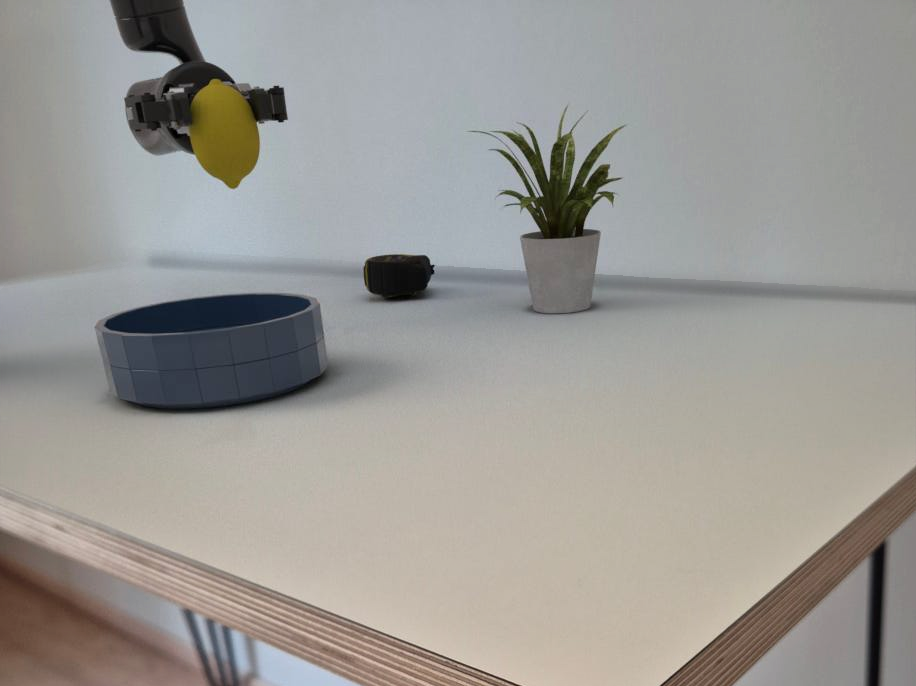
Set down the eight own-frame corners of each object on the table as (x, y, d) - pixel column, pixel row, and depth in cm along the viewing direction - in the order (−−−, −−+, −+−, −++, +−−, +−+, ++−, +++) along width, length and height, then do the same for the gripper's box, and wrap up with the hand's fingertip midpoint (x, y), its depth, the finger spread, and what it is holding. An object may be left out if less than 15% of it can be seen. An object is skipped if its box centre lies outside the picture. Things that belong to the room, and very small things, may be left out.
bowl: (144, 427, 61) (125, 346, 58) (92, 383, 72) (75, 314, 70) (362, 383, 67) (353, 308, 65) (283, 349, 79) (273, 285, 76)
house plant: (451, 326, 83) (435, 110, 75) (488, 297, 95) (477, 107, 87) (617, 323, 80) (619, 97, 72) (634, 293, 91) (637, 96, 83)
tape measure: (429, 300, 95) (425, 260, 93) (360, 303, 96) (356, 263, 94) (436, 288, 101) (433, 250, 99) (371, 292, 102) (367, 254, 100)
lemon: (217, 187, 83) (198, 81, 80) (277, 184, 82) (261, 76, 78) (188, 193, 79) (166, 81, 75) (251, 190, 78) (232, 76, 74)
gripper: (107, 67, 85) (118, 54, 72) (267, 60, 90) (308, 46, 76) (126, 161, 89) (141, 167, 75) (280, 150, 93) (320, 153, 79)
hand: (224, 106), depth 76 cm, fingers closed on lemon, 5 cm apart
